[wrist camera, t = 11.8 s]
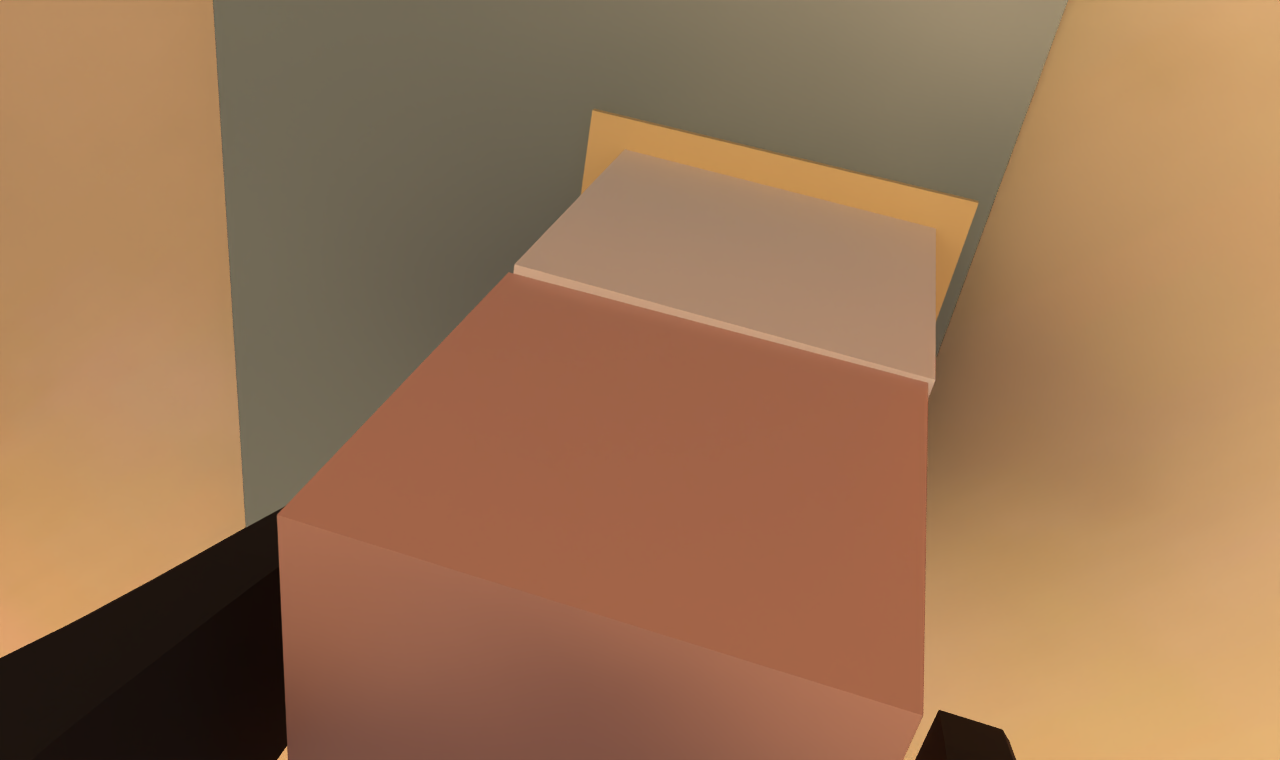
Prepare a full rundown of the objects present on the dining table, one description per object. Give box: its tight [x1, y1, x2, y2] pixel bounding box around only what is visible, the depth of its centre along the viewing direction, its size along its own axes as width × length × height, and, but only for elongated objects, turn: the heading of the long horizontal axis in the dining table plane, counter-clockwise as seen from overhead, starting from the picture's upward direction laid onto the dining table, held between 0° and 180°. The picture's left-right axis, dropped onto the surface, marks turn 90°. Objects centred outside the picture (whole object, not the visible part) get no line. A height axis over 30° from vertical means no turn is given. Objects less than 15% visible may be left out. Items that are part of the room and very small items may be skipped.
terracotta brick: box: [277, 272, 928, 760], centre depth 10 cm, size 5×6×4 cm
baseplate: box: [213, 0, 1068, 527], centre depth 17 cm, size 12×20×1 cm, turn 171°
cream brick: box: [513, 149, 936, 398], centre depth 14 cm, size 5×6×4 cm
